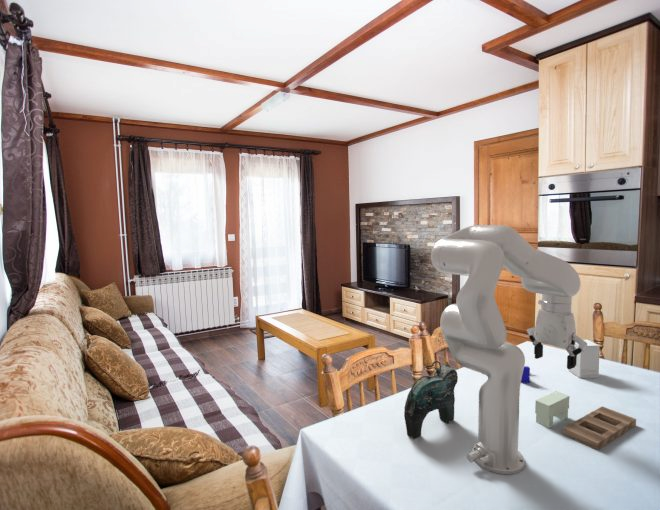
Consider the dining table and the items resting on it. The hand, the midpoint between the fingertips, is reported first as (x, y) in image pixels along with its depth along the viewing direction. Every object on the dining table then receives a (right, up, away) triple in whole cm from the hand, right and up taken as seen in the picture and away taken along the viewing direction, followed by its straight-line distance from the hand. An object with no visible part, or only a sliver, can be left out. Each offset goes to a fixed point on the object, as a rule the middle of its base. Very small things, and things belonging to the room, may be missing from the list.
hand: (554, 362), depth 116 cm
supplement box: (+30, -14, +33) cm, 47 cm away
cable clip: (+5, -15, +33) cm, 37 cm away
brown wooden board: (+11, -18, -4) cm, 22 cm away
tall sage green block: (0, -18, +2) cm, 18 cm away
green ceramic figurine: (-37, -20, 0) cm, 42 cm away
